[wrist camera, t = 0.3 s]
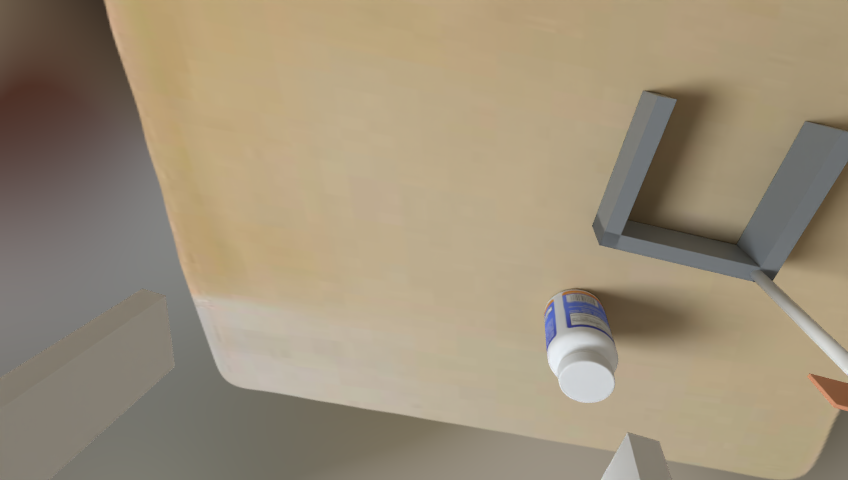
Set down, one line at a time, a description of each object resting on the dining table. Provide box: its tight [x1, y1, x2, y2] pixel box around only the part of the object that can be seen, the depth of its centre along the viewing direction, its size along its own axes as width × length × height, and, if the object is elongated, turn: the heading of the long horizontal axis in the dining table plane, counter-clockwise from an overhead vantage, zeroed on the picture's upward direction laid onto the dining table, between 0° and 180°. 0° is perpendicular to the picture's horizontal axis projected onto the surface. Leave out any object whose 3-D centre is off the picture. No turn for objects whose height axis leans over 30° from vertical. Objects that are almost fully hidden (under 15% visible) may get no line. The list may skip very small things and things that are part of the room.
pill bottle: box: [544, 289, 618, 403], centre depth 36 cm, size 5×5×10 cm
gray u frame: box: [592, 91, 848, 411], centre depth 25 cm, size 11×12×18 cm
